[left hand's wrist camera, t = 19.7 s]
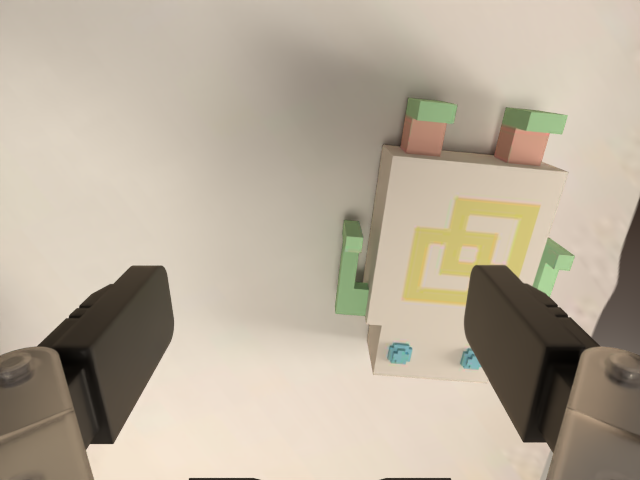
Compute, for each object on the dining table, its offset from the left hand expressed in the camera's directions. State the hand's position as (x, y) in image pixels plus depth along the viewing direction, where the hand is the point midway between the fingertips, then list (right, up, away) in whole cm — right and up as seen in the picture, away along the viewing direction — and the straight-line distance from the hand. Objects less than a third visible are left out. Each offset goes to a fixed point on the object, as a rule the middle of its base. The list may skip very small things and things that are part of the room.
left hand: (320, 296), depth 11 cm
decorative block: (+12, +2, +31) cm, 33 cm away
